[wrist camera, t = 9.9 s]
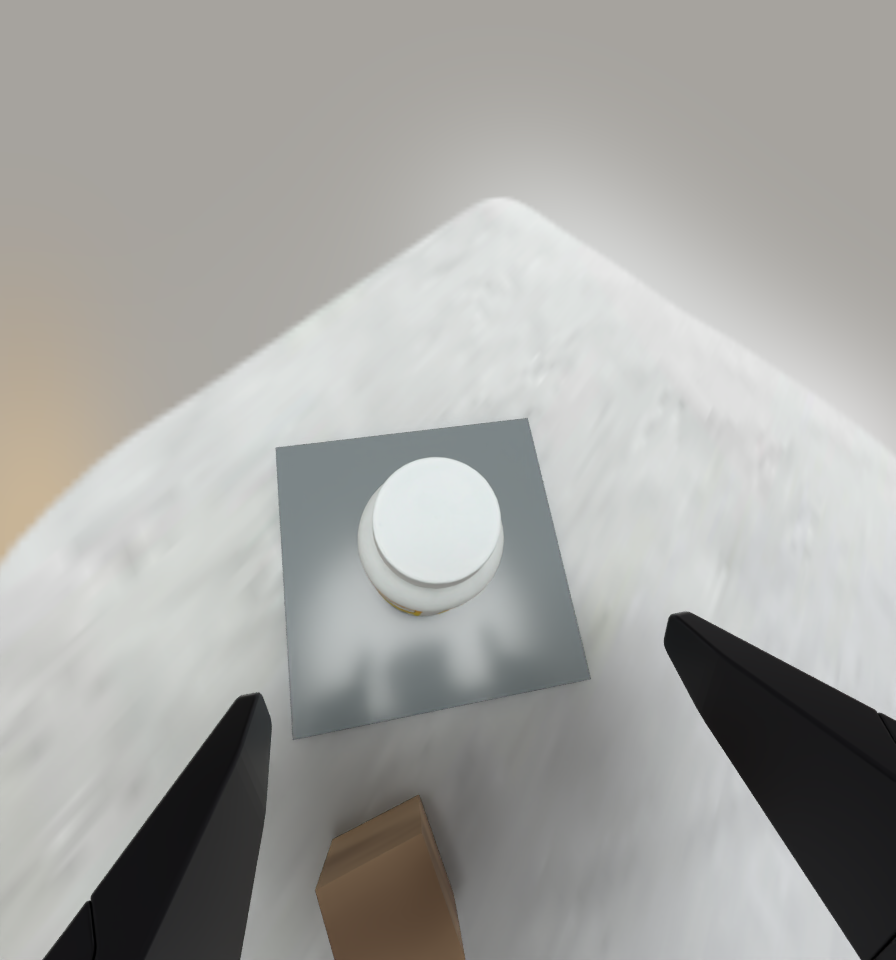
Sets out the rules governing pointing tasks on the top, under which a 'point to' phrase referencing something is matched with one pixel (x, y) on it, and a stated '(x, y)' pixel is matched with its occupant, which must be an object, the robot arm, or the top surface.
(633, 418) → the top surface
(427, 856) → the walnut block
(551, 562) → the coaster
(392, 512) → the supplement bottle
